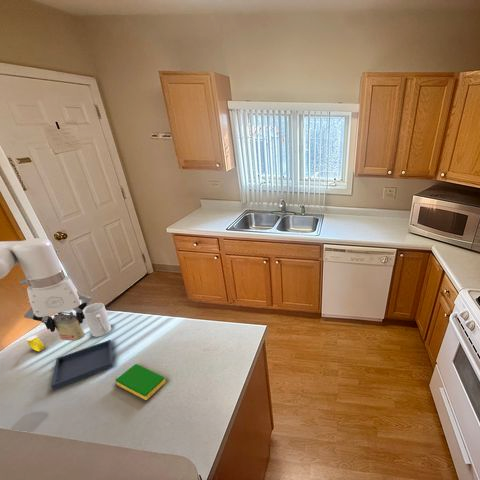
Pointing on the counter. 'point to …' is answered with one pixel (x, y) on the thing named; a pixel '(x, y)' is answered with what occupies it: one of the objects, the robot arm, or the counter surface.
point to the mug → (97, 319)
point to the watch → (35, 343)
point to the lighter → (68, 326)
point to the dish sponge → (140, 381)
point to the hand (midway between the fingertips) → (67, 324)
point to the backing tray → (82, 364)
